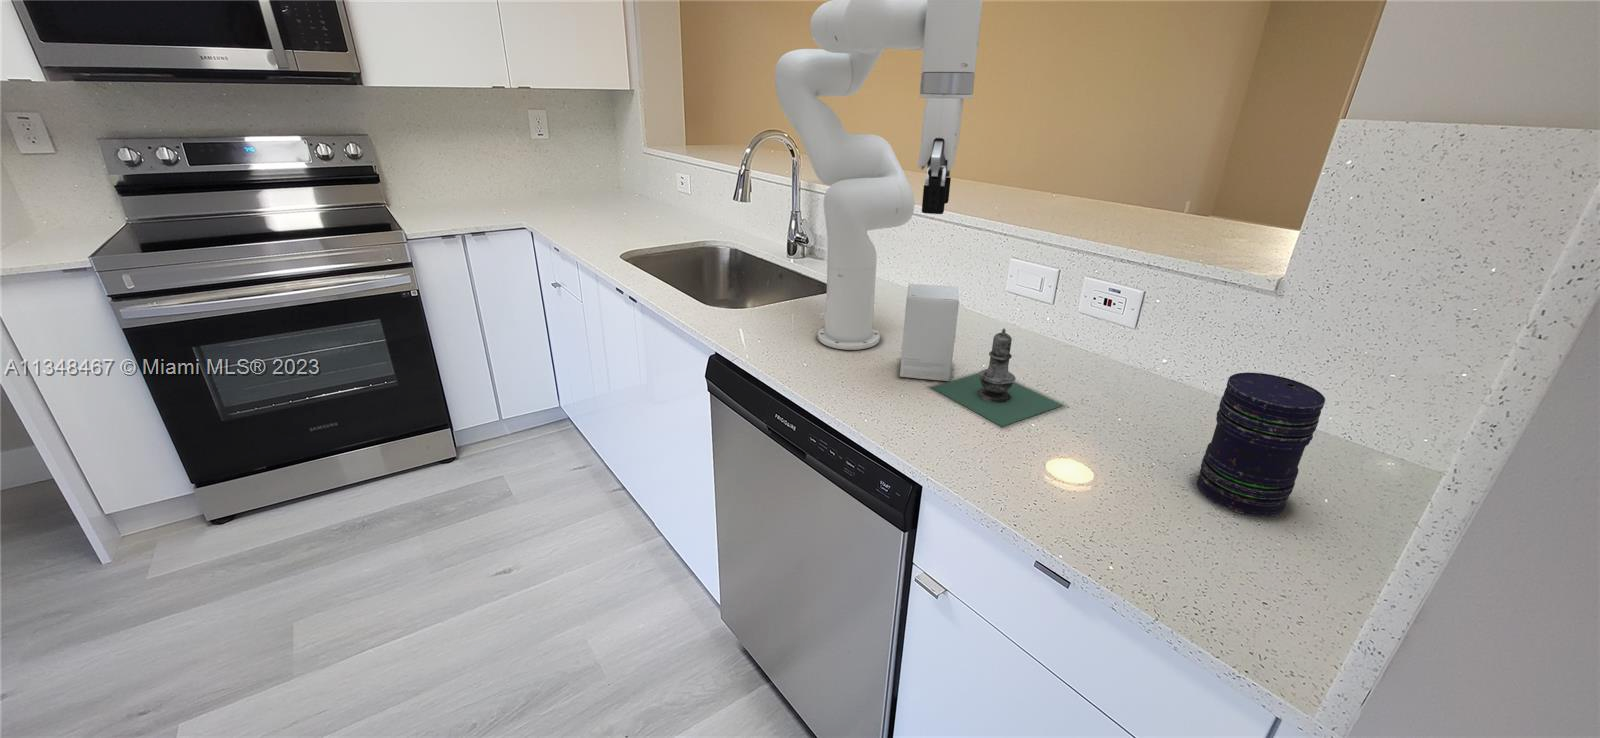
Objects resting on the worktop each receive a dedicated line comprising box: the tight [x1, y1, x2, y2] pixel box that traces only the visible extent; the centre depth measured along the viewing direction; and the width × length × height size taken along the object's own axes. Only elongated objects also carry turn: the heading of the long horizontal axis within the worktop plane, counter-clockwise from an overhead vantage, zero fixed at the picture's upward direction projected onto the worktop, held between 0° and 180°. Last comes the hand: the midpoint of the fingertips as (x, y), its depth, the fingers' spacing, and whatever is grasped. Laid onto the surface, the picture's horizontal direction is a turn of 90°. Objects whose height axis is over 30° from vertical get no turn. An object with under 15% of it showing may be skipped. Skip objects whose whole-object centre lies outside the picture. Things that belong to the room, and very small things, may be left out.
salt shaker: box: [978, 327, 1017, 403], centre depth 106 cm, size 6×6×12 cm
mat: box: [930, 373, 1063, 428], centre depth 108 cm, size 16×14×1 cm
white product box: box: [899, 283, 960, 382], centre depth 115 cm, size 9×9×15 cm
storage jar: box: [1196, 372, 1326, 518], centre depth 80 cm, size 10×10×15 cm
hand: (935, 207), depth 100 cm, fingers open, 9 cm apart
